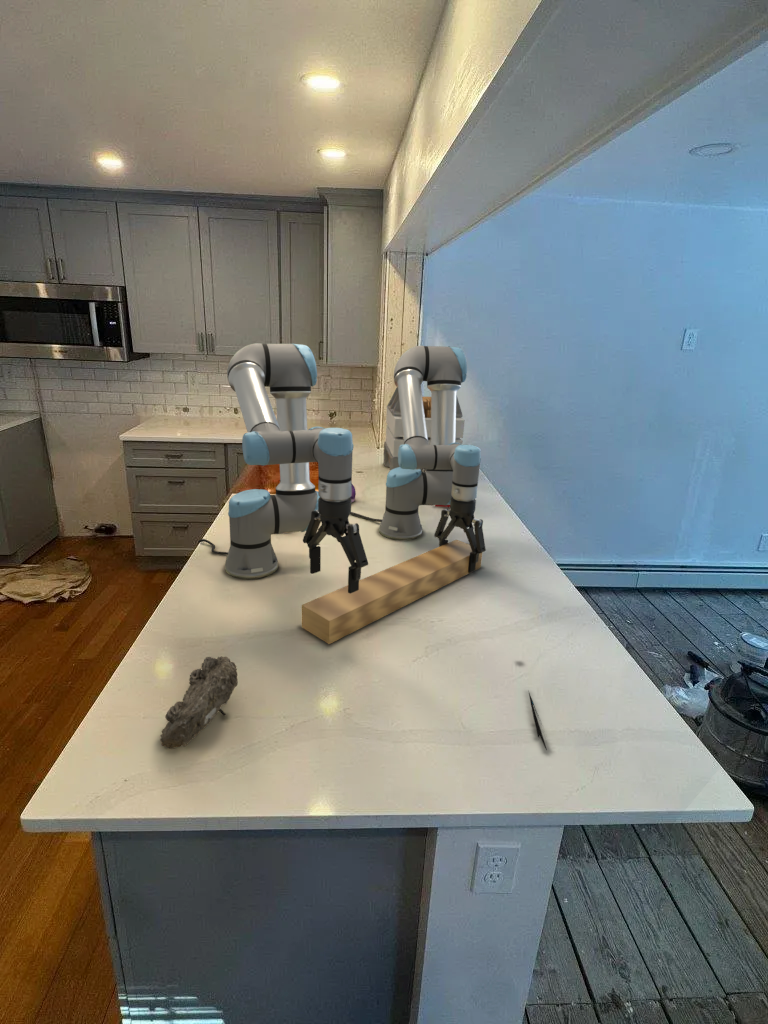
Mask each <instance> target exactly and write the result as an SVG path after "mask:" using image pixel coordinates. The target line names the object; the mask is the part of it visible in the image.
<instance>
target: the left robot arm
mask: <svg viewBox="0 0 768 1024" xmlns="http://www.w3.org/2000/svg"><path fill="white" fill-rule="evenodd" d="M317 377H318V368H317V362H316V359H315V356H314V353H313V351H312V349H311V348H310V347H309V346H308V345H306V344H300V343H262V342H261V343H260V342H258V343H257V342H255V343H251V344H247V345H245V346H243V347H242V348H240V349H239V350H237V351H236V352H235V354H234V355H233V356H232V357H231V359H230V360H229V362H228V365H227V369H226V378H227V381H228V384H229V387H230V389H231V390H232V391H233V392H235V395H236V399H237V402H238V405H239V409H240V412H241V415H242V419H243V422H244V426H245V428H246V432H245V433H243V435H242V440H241V441H242V444H241V445H242V447H241V448H242V454H243V460H244V462H245V464H247V465H248V466H263V467H264V466H273V465H279V480H280V481H279V482H278V484H277V486H275V494H271V493H270V491H268V490H267V489H263V488H260V489H259V488H253V489H246V490H243V491H240V492H237V493H235V494H234V495H232V496H231V498H230V499H229V501H228V512H227V515H228V518H229V519H228V520H229V521H228V522H229V540H230V541H229V542H230V545H229V549H228V551H218V550H215V549H216V545H215V544H214V543H213V542H212V541H210V540H208V539H205V538H201V539H199V540H198V541H197V543H202V542H204V543H207V544H209V546H211V553H213V554H215V555H225V556H226V559H225V561H224V562H225V563H224V564H225V565H224V569H225V572H226V574H227V575H229V576H231V577H233V578H237V579H244V580H253V579H261V578H266V577H267V576H270V575H272V574H274V573H275V572H277V570H278V567H279V561H278V558H277V554H276V552H275V550H274V549H275V548H274V547H273V545H272V535H280V534H281V535H282V534H289V533H291V534H292V533H304V535H303V538H302V542H303V544H306V545H307V547H308V558H309V574H311V575H314V574H317V573H319V572H321V569H322V568H321V561H322V560H321V559H322V558H321V557H322V556H321V551H322V550H321V547H322V546H319V545H321V542H322V541H323V540H324V539H325V537H326V536H331V537H332V538H334V539H335V540H336V541H337V542H338V543H340V545H341V548H342V550H343V552H344V554H345V556H346V558H347V560H348V562H349V564H350V565H349V566H348V573H347V575H348V576H347V586H348V593H350V594H351V593H353V592H355V591H357V590H359V580H361V578H362V577H361V576H362V568H364V567H367V566H368V565H369V561H368V558H367V554H366V551H365V547H364V544H363V541H362V538H361V534H360V525H359V523H357V522H356V523H350V521H349V517H350V516H351V514H350V513H351V512H352V503H351V499H350V497H351V495H352V484H353V481H352V479H353V478H352V476H353V451H354V444H353V443H354V441H353V433H352V432H351V430H349V429H346V428H342V427H323V426H313V427H312V426H311V427H310V428H308V412H307V411H308V410H307V409H308V408H307V398H308V397H309V396H310V394H311V393H312V388H313V387H315V386H316V385H317V381H318V378H317ZM266 387H268V388H269V394H270V395H271V396H272V397H273V398H274V399H275V407H276V414H275V411H274V408H273V406H272V403H271V400H270V397H269V395H268V392H267V388H266ZM310 463H317V466H318V467H317V468H318V473H317V474H318V477H317V478H318V483H317V484H318V486H317V487H318V489H317V490H316V485H315V484H314V483H312V482H311V479H310V478H311V477H310V475H311V474H310Z"/></svg>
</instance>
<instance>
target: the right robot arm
mask: <svg viewBox="0 0 768 1024" xmlns="http://www.w3.org/2000/svg"><path fill="white" fill-rule="evenodd" d="M467 374H468V363H467V357H466V353H465V352H464V351H463V349H462V348H461V347H455V346H450V345H448V346H440V345H439V346H437V345H436V346H435V345H415V346H412V347H410V348H409V349H407V350H406V351H404V352H403V353H402V354H401V356H400V357H399V358H398V360H397V361H396V364H395V365H394V370H393V383H394V386H395V387H396V388H397V387H398V393H399V402H400V412H401V421H402V431H403V440H404V444H403V445H400V446H399V450H398V463H399V466H400V467H397V468H394V469H392V470H391V471H390V470H388V473H387V475H386V480H385V481H386V482H385V487H386V488H385V504H384V505H385V507H384V508H385V509H384V513H383V515H382V519H381V518H374V517H369V516H366V515H363V514H360V513H356V512H353V511H351V513H350V516H355V517H358V518H360V519H364V520H366V521H370V522H375V523H379V527H378V533H379V534H380V535H381V536H382V537H385V538H387V539H389V540H395V541H410V540H415V539H418V538H420V537H421V536H422V535H423V525H422V524H421V518H420V515H419V507H420V506H435V505H444V506H447V505H450V507H446V508H444V509H441V511H440V519H439V521H438V524H437V526H436V529H435V531H434V533H433V534H434V538H437V539H438V541H439V542H438V547H440V546H442V545H444V544H447V543H449V540H448V537H449V535H451V533H452V531H453V530H454V529H455V528H459V529H462V530H463V532H464V533H465V535H466V538H467V542H468V544H470V547H471V549H472V552H470V557H469V567H468V573H469V574H472V573H473V572H475V571H476V570H475V567H476V563H477V562H478V559H479V554H480V553H482V554H483V553H484V552H486V550H487V549H486V544H485V537H484V529H483V525H484V520H483V519H482V518H481V519H478V518H475V511H476V504H477V500H476V499H477V497H478V496H477V495H478V484H479V477H480V468H481V467H480V466H481V461H482V458H481V455H482V453H481V452H482V449H481V448H480V447H478V446H476V445H473V444H462V445H461V444H460V443H456V442H455V435H456V395H457V392H458V391H459V390H460V389H461V387H462V383H465V381H466V380H467ZM423 382H426V388H427V389H428V390H429V391H430V393H431V394H430V395H431V396H430V397H431V444H430V445H428V437H427V429H426V422H425V414H424V406H423V399H422V397H423V392H422V384H423ZM422 470H425V471H422ZM278 481H279V482H280V479H279V480H278ZM449 517H450V521H449V522H448V520H449ZM447 522H448V523H447ZM446 525H447V526H446Z"/></svg>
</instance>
